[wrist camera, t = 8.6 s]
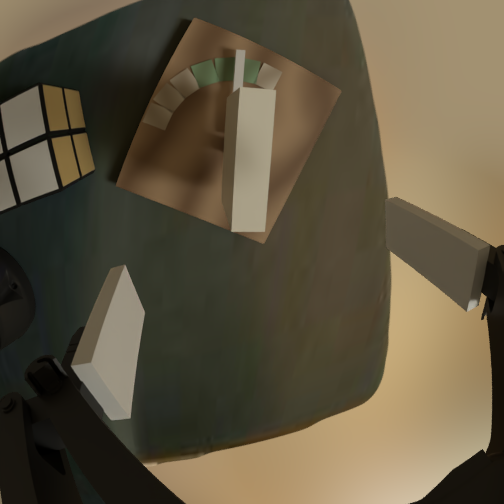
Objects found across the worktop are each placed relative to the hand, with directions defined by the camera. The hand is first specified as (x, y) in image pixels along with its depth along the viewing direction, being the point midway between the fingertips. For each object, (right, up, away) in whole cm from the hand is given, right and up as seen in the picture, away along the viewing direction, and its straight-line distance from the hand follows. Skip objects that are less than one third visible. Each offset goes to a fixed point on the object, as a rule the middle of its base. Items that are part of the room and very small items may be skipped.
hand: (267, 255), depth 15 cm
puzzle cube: (-24, +13, +14) cm, 30 cm away
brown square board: (-3, +13, +18) cm, 22 cm away
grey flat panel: (-3, +13, +16) cm, 21 cm away
